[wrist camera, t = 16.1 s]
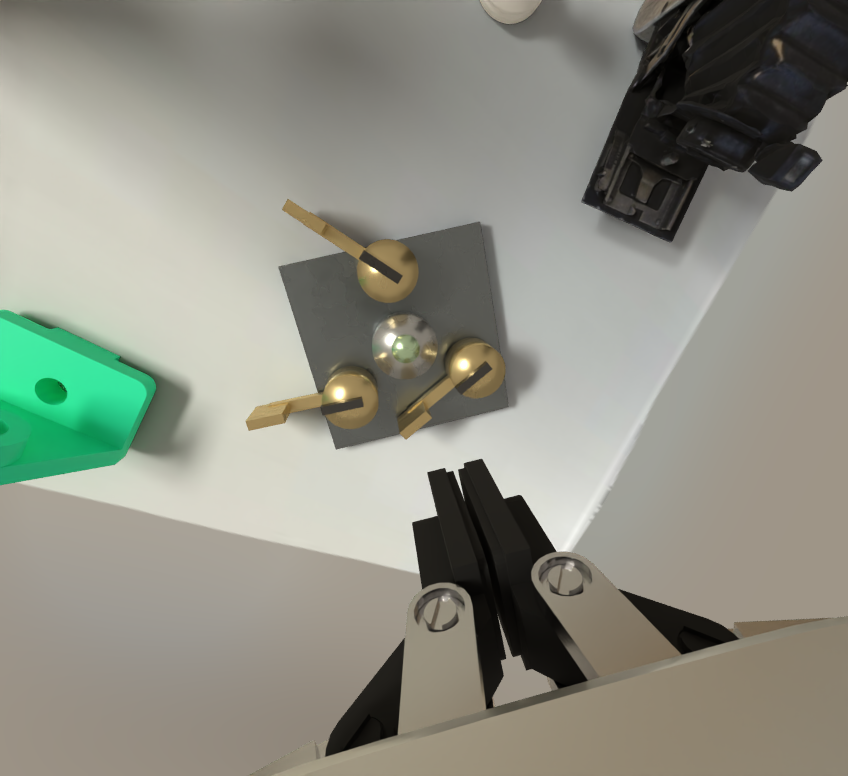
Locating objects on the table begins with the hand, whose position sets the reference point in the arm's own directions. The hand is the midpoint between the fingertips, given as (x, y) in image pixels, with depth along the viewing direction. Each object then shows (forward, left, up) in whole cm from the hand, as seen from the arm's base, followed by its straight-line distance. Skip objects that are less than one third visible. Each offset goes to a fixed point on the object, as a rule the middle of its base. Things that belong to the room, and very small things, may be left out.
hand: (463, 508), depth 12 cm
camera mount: (-3, -27, -26) cm, 37 cm away
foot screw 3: (+4, +3, -24) cm, 24 cm away
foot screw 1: (-8, -2, -24) cm, 25 cm away
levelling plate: (0, 0, -25) cm, 25 cm away
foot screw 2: (+3, -8, -24) cm, 25 cm away
